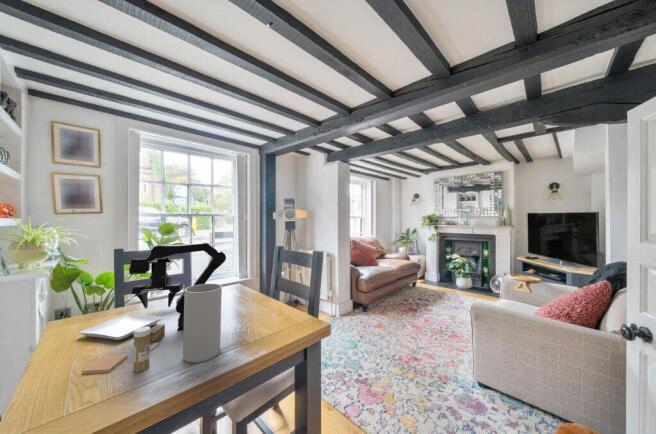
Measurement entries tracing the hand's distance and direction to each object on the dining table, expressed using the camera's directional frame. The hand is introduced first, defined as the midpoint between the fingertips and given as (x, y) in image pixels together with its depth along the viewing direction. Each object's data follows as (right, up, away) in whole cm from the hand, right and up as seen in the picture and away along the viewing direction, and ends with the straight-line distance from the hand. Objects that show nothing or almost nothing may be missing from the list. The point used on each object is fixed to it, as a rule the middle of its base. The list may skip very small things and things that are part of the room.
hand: (157, 307), depth 111 cm
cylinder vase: (+29, -11, -18) cm, 36 cm away
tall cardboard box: (+5, -11, -10) cm, 16 cm away
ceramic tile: (-1, -10, -21) cm, 24 cm away
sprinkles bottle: (+13, -11, -27) cm, 32 cm away
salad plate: (-16, -11, +1) cm, 20 cm away
